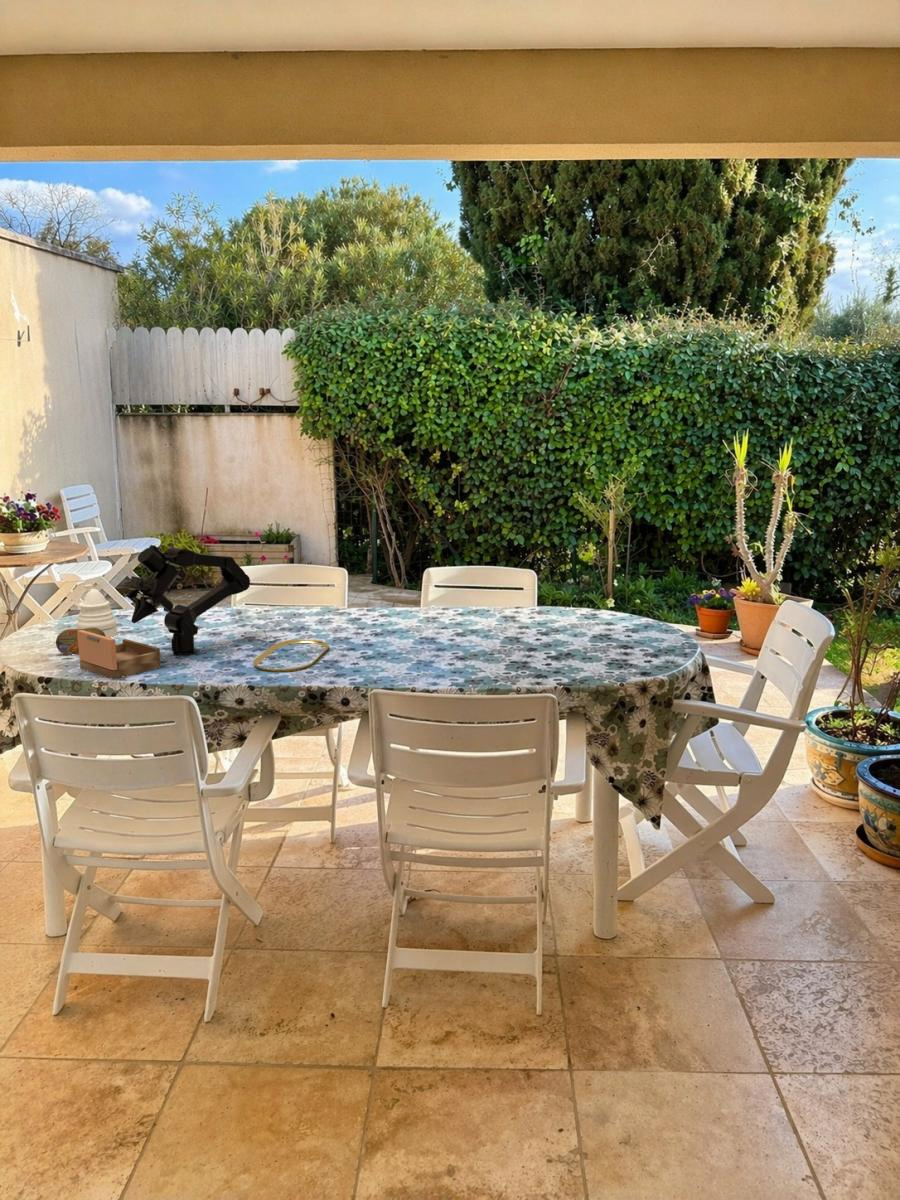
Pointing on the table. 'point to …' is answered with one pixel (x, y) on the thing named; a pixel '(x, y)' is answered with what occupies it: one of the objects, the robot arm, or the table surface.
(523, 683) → the table surface
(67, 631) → the tin
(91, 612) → the honey pot
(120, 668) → the brown shallow open box
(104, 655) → the tailgate
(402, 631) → the table surface
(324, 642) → the oval ring
